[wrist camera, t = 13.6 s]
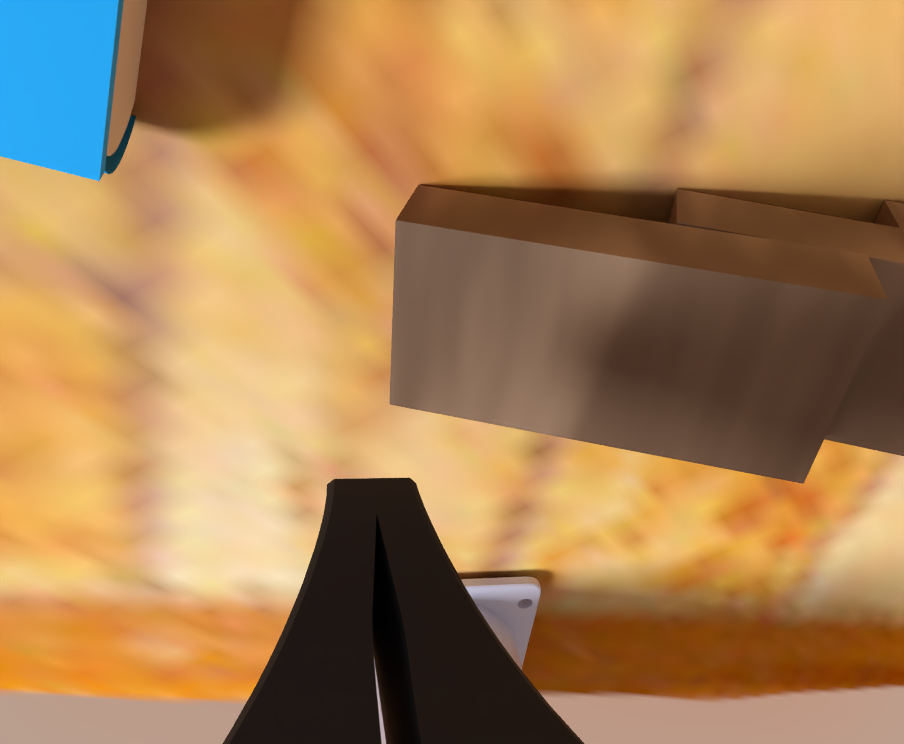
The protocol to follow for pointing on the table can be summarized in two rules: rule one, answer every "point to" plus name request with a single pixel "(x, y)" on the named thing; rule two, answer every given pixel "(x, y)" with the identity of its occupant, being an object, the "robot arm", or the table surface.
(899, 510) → the table surface
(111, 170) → the book
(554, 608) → the table surface
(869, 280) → the domino
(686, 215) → the domino
